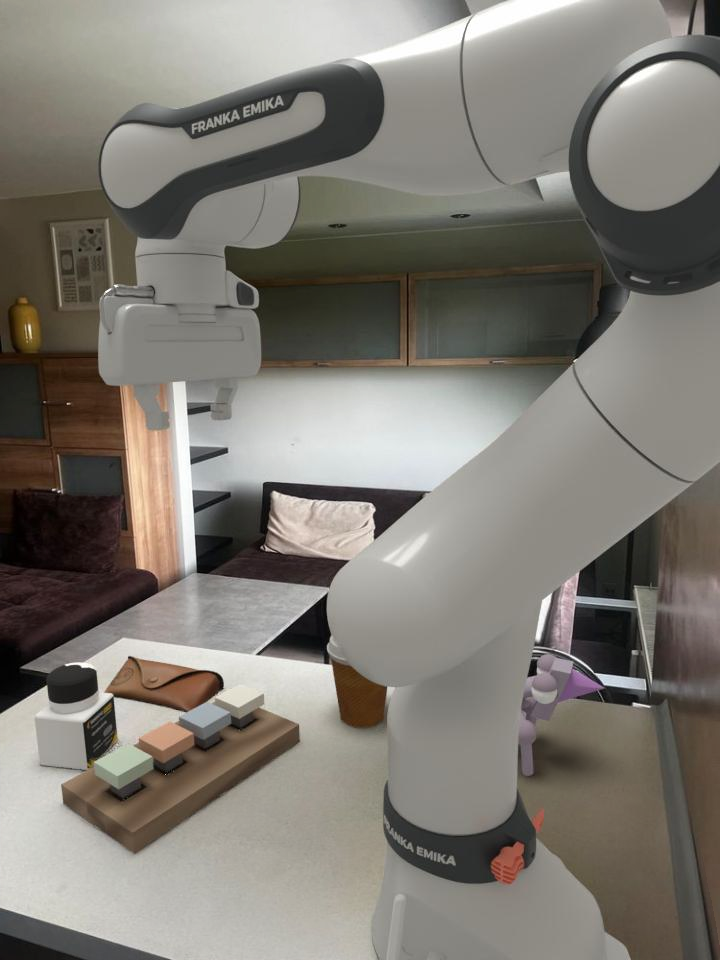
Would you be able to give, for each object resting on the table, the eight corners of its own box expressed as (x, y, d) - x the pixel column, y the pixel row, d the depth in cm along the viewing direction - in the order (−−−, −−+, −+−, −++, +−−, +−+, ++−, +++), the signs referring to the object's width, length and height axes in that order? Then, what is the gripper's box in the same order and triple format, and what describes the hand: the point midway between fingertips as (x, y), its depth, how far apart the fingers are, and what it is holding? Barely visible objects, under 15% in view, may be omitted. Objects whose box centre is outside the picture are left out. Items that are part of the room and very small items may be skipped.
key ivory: (265, 719, 95) (263, 693, 94) (240, 734, 91) (238, 707, 91) (241, 708, 98) (240, 683, 97) (216, 723, 94) (214, 697, 93)
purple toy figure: (603, 746, 91) (608, 651, 88) (597, 798, 82) (602, 695, 78) (454, 718, 99) (453, 630, 95) (433, 763, 89) (431, 667, 86)
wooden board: (299, 741, 94) (299, 724, 93) (134, 853, 74) (132, 832, 73) (229, 710, 102) (228, 694, 102) (63, 803, 82) (61, 784, 82)
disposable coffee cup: (315, 715, 100) (312, 637, 98) (364, 693, 106) (362, 619, 104) (360, 742, 93) (358, 659, 91) (409, 716, 100) (408, 637, 97)
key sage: (154, 786, 81) (152, 756, 80) (120, 807, 77) (117, 776, 77) (131, 772, 84) (128, 743, 83) (96, 791, 80) (93, 762, 79)
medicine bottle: (88, 771, 88) (79, 684, 86) (39, 766, 90) (28, 679, 87) (119, 740, 95) (111, 658, 93) (72, 735, 96) (63, 655, 94)
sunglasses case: (94, 695, 107) (106, 651, 109) (122, 698, 113) (133, 656, 116) (195, 715, 101) (205, 668, 103) (218, 716, 107) (228, 672, 109)
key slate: (232, 739, 90) (230, 712, 89) (204, 755, 87) (202, 728, 86) (208, 727, 93) (206, 701, 92) (180, 743, 89) (178, 716, 89)
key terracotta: (195, 761, 86) (193, 733, 85) (164, 780, 82) (162, 750, 81) (172, 748, 88) (169, 721, 88) (141, 766, 85) (138, 738, 84)
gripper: (123, 280, 60) (136, 438, 63) (268, 292, 78) (273, 416, 80) (75, 284, 63) (89, 435, 66) (225, 295, 81) (231, 414, 83)
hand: (191, 424), depth 73 cm, fingers open, 8 cm apart
